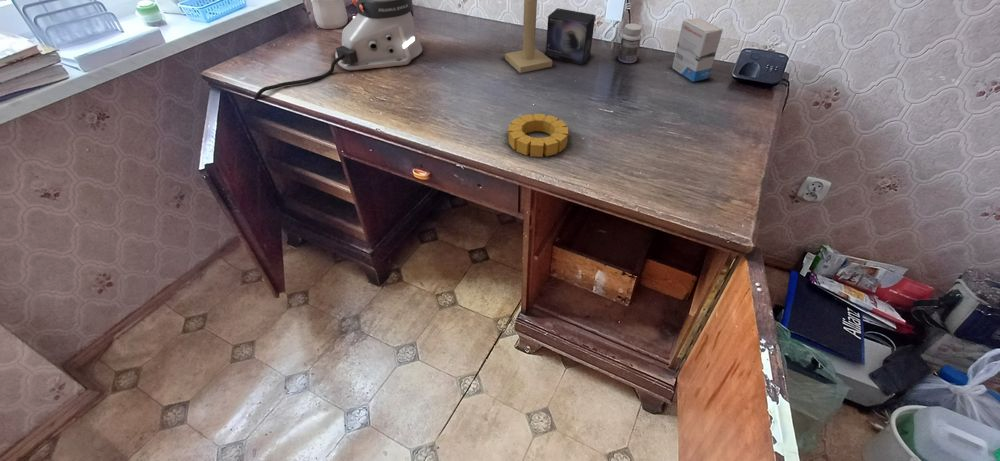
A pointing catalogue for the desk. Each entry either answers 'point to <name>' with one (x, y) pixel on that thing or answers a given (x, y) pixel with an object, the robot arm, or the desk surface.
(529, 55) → the tan peg stand
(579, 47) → the small box
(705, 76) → the ink box
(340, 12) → the cup
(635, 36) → the pill bottle
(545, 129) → the ring
